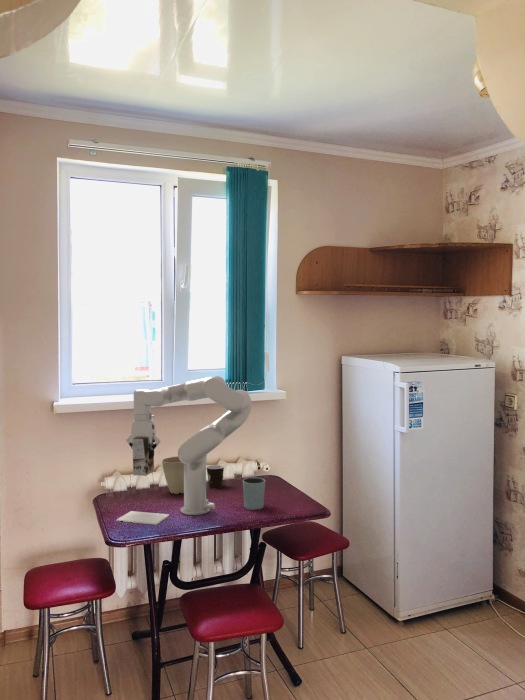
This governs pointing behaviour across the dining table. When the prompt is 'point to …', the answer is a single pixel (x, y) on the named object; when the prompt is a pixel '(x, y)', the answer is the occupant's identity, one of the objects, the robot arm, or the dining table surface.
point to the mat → (143, 517)
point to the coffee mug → (215, 475)
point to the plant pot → (174, 474)
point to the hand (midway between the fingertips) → (143, 457)
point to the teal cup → (253, 493)
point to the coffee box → (142, 457)
